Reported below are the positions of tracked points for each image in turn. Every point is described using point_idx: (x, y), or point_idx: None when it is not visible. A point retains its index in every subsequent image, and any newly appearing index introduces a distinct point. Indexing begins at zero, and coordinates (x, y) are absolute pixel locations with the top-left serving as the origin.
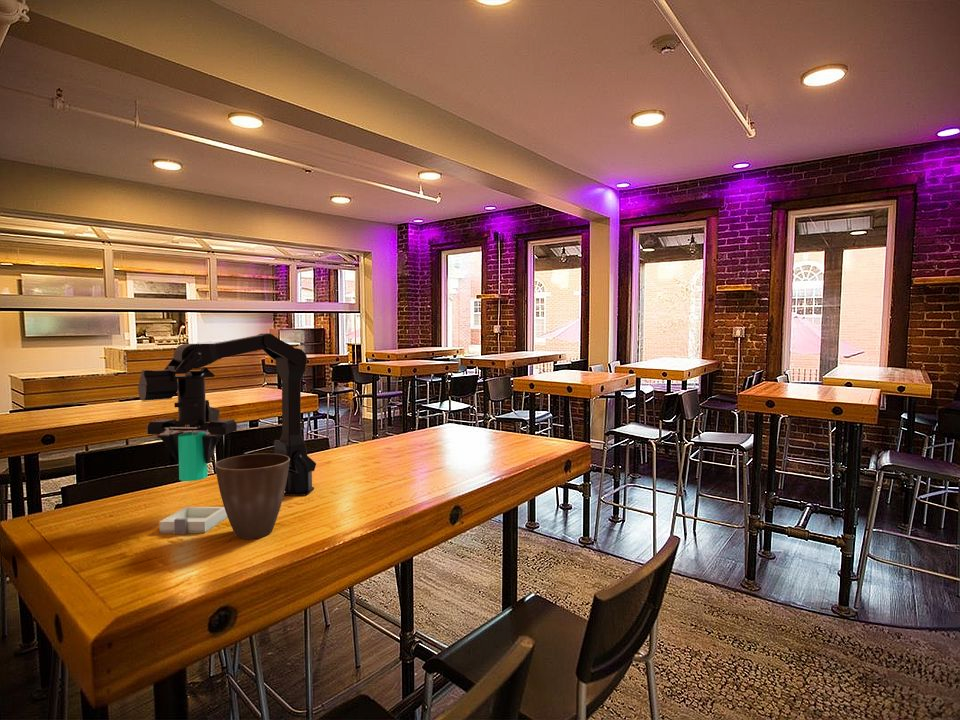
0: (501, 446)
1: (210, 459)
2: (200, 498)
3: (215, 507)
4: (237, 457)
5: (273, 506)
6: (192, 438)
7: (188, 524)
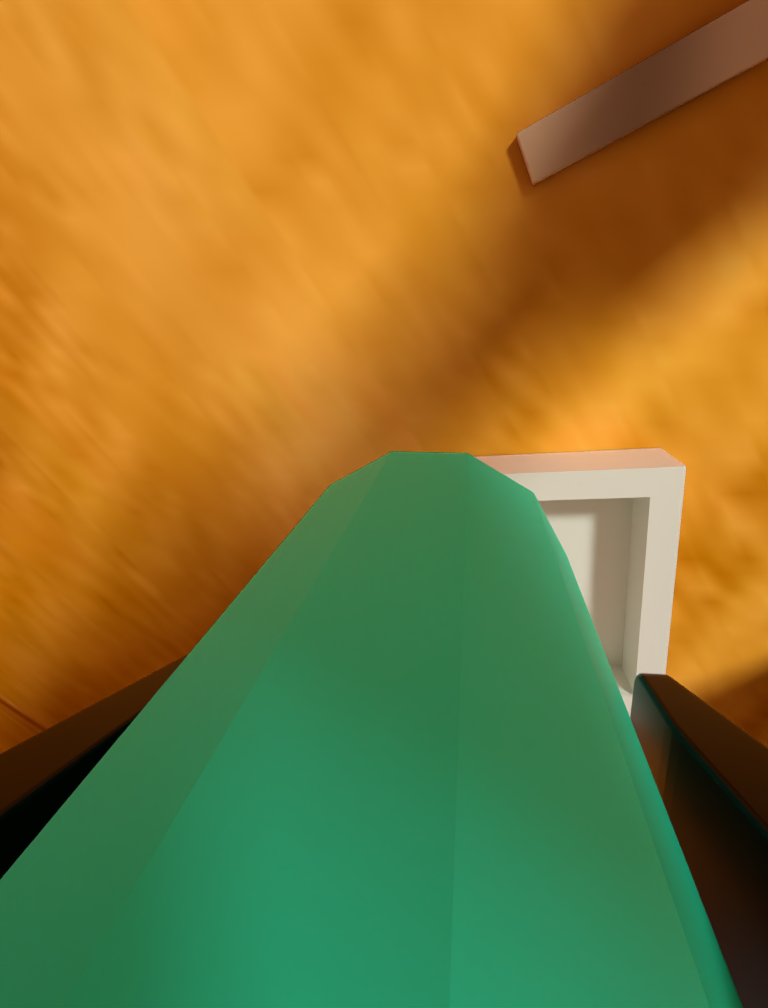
0: None
1: (700, 708)
2: (211, 23)
3: (599, 481)
4: None
5: None
6: None
7: None
